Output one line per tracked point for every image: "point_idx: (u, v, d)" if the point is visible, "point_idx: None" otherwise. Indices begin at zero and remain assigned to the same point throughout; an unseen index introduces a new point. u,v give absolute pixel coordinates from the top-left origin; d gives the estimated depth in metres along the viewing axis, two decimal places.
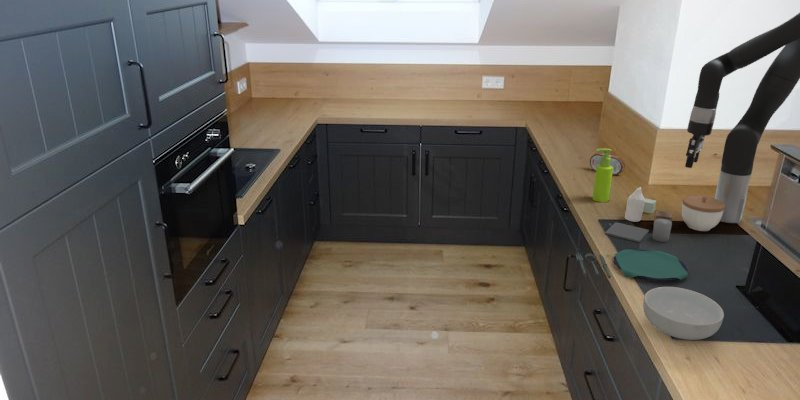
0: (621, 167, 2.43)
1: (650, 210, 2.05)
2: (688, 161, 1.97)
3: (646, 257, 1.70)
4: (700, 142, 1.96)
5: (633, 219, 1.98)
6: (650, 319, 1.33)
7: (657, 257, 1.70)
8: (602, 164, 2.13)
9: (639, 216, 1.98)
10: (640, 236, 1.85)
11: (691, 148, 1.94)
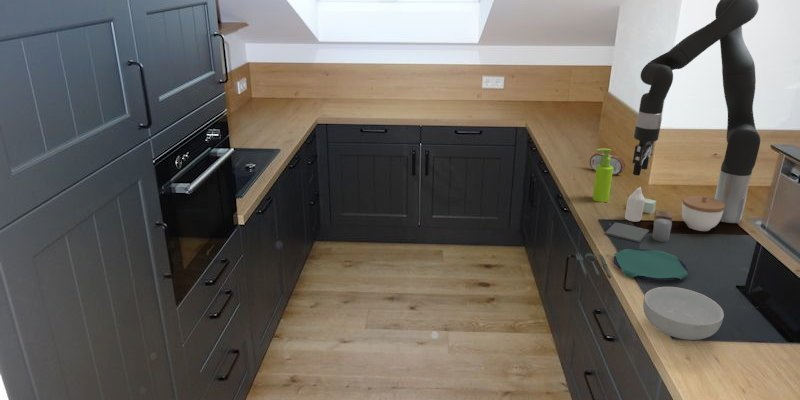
0: (621, 167, 2.43)
1: (650, 210, 2.05)
2: (635, 168, 1.90)
3: (646, 257, 1.70)
4: (647, 148, 1.89)
5: (633, 219, 1.98)
6: (650, 319, 1.33)
7: (657, 256, 1.70)
8: (602, 164, 2.13)
9: (639, 216, 1.98)
10: (640, 236, 1.85)
11: (637, 155, 1.87)
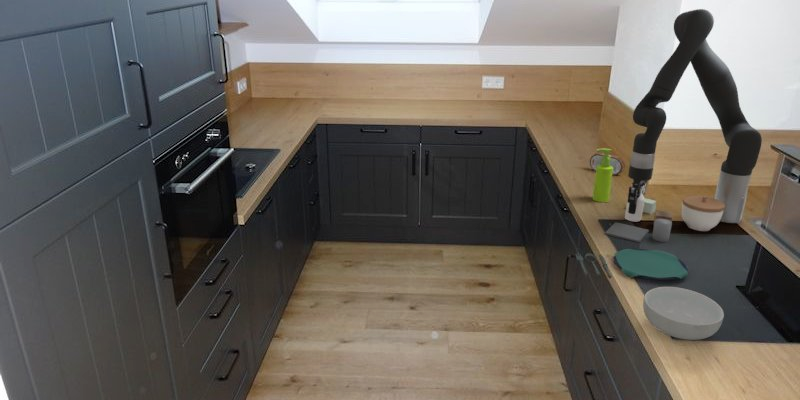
0: (621, 167, 2.43)
1: (649, 210, 2.05)
2: (630, 207, 1.95)
3: (645, 256, 1.70)
4: (641, 187, 1.94)
5: (633, 219, 1.98)
6: (650, 319, 1.33)
7: (656, 256, 1.70)
8: (602, 164, 2.13)
9: (639, 216, 1.98)
10: (640, 236, 1.85)
11: (631, 196, 1.92)
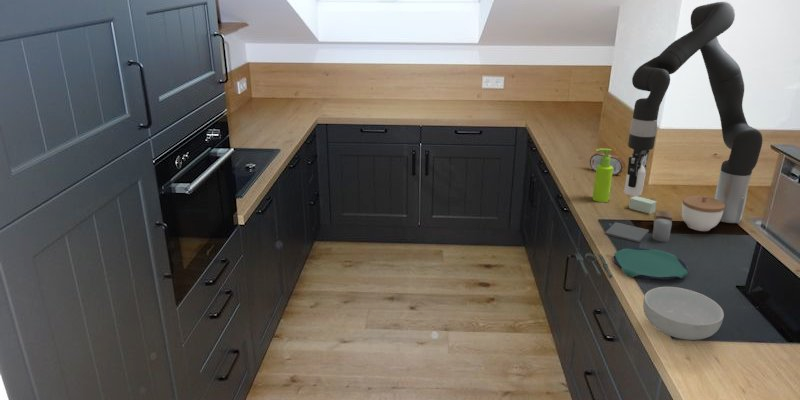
0: (621, 167, 2.43)
1: (648, 210, 2.05)
2: (630, 180, 1.79)
3: (645, 256, 1.71)
4: (642, 158, 1.77)
5: (633, 193, 1.81)
6: (650, 319, 1.33)
7: (656, 255, 1.71)
8: (602, 164, 2.13)
9: (640, 190, 1.81)
10: (640, 236, 1.85)
11: (631, 167, 1.76)
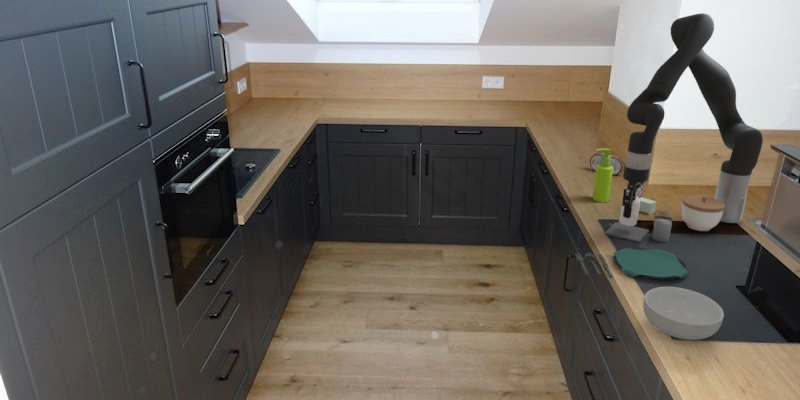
0: (621, 167, 2.43)
1: (648, 210, 2.05)
2: (625, 211, 1.83)
3: (645, 256, 1.71)
4: (636, 190, 1.81)
5: (628, 223, 1.85)
6: (650, 319, 1.33)
7: (655, 255, 1.71)
8: (602, 164, 2.13)
9: (634, 220, 1.85)
10: (640, 236, 1.85)
11: (626, 198, 1.79)
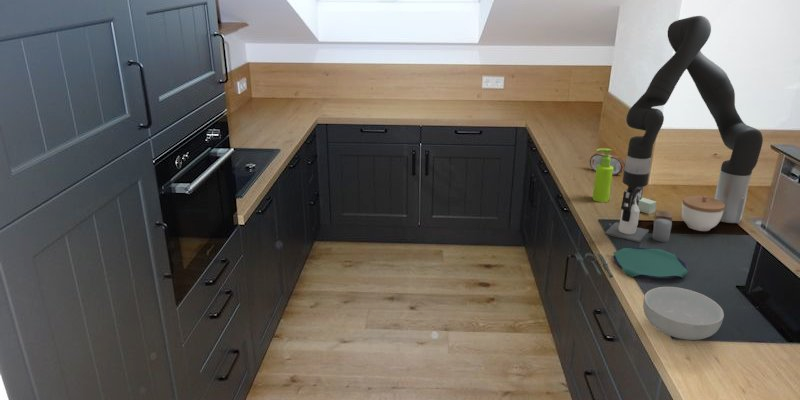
0: (621, 167, 2.43)
1: (647, 210, 2.05)
2: (624, 214, 1.82)
3: (644, 255, 1.71)
4: (636, 194, 1.81)
5: (627, 231, 1.86)
6: (650, 319, 1.33)
7: (655, 255, 1.71)
8: (602, 164, 2.13)
9: (634, 229, 1.86)
10: (640, 236, 1.85)
11: (626, 201, 1.79)
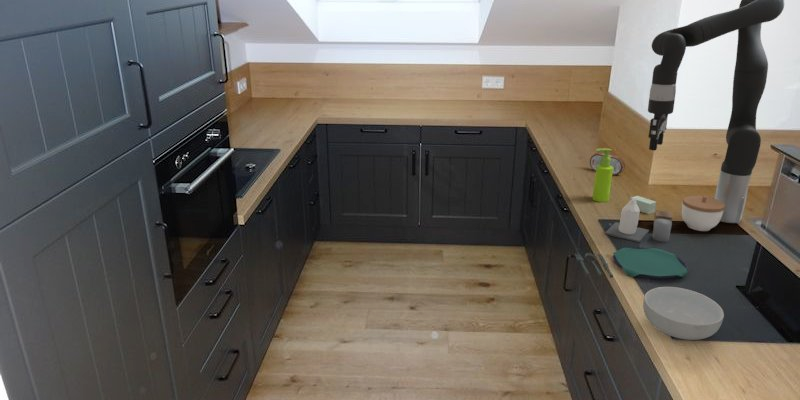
0: (621, 167, 2.43)
1: (647, 210, 2.05)
2: (652, 143, 1.83)
3: (644, 255, 1.71)
4: (662, 122, 1.82)
5: (627, 231, 1.86)
6: (650, 319, 1.33)
7: (655, 254, 1.71)
8: (602, 164, 2.13)
9: (634, 229, 1.86)
10: (640, 236, 1.85)
11: (653, 129, 1.80)
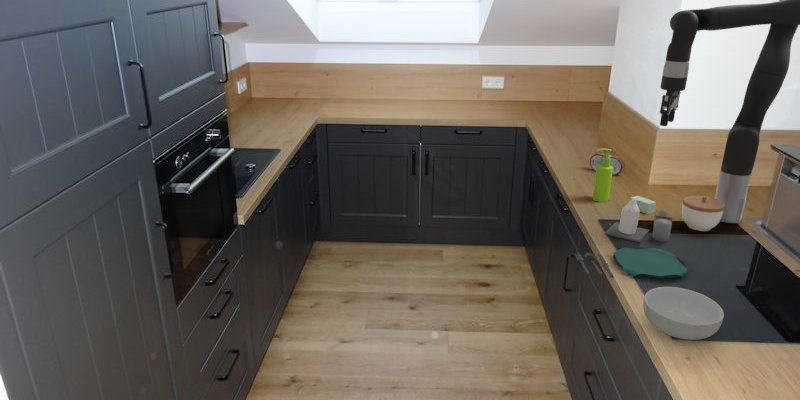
0: (621, 167, 2.43)
1: (646, 210, 2.05)
2: (662, 119, 1.88)
3: (644, 255, 1.71)
4: (674, 98, 1.87)
5: (627, 231, 1.86)
6: (650, 319, 1.33)
7: (654, 254, 1.72)
8: (602, 164, 2.13)
9: (634, 229, 1.86)
10: (640, 236, 1.85)
11: (665, 104, 1.85)
